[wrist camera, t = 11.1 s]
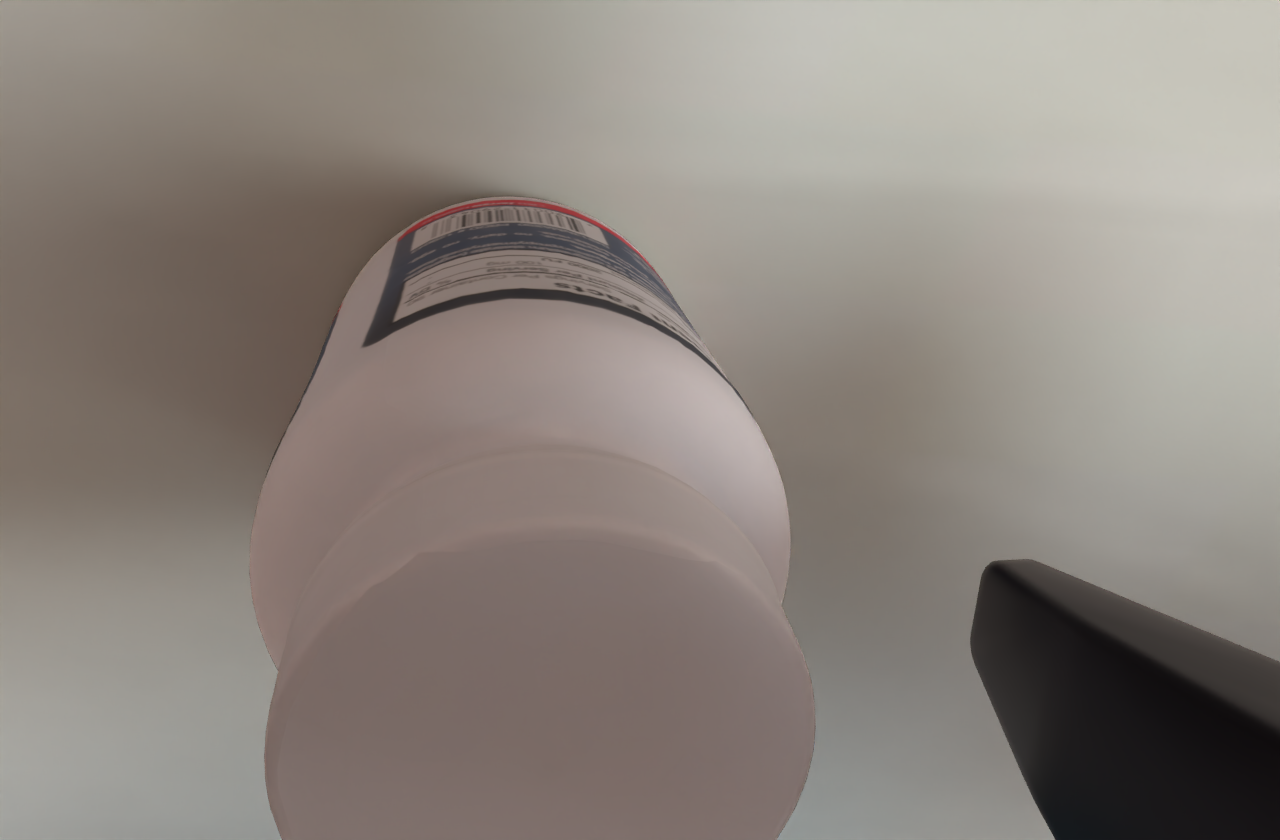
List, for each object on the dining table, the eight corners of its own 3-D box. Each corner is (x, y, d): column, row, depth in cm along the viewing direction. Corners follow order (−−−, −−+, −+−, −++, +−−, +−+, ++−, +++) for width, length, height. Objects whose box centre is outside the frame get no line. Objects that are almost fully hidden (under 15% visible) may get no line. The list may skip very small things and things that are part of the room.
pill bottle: (526, 576, 17) (566, 1119, 9) (258, 384, 15) (-12, 847, 7) (751, 347, 16) (1036, 718, 8) (495, 110, 14) (511, 267, 6)
